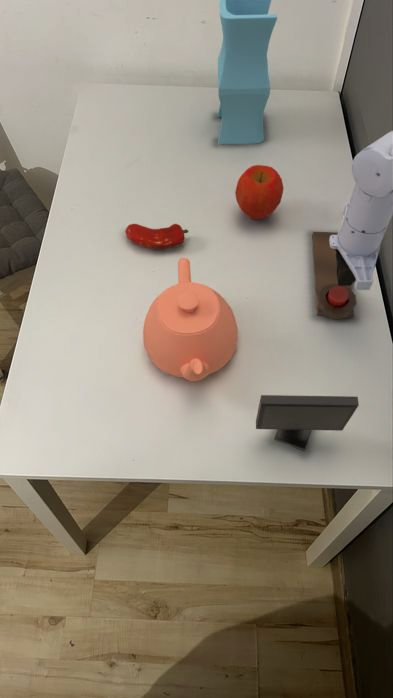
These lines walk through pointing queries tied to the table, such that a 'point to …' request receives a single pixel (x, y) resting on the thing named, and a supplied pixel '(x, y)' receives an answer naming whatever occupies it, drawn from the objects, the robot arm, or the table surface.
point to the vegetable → (156, 236)
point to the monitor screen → (305, 412)
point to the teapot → (189, 329)
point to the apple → (259, 191)
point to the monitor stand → (293, 437)
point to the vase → (244, 69)
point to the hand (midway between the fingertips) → (344, 280)
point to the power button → (337, 296)
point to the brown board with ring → (328, 278)
